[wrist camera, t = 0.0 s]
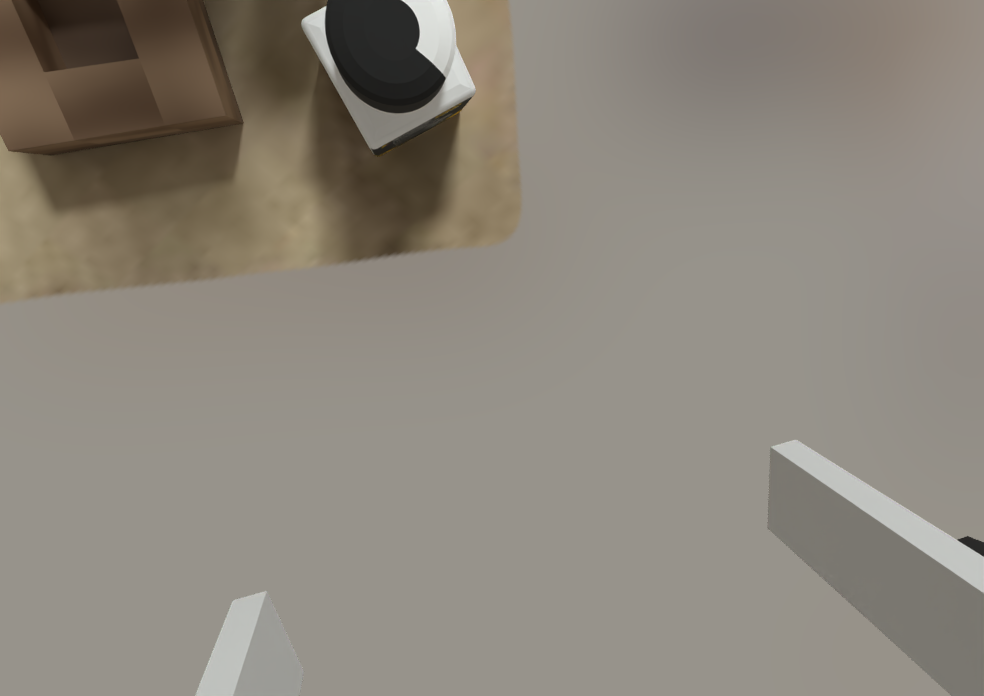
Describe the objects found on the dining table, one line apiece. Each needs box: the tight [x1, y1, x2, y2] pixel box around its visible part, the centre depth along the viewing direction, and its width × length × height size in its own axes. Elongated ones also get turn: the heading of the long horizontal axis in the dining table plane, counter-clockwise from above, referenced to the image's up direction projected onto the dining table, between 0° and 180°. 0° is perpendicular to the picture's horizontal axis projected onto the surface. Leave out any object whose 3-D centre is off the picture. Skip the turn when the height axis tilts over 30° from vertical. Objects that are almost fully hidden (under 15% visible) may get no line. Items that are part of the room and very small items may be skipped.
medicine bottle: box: [301, 0, 476, 157], centre depth 27 cm, size 7×7×12 cm
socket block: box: [0, 0, 243, 155], centre depth 27 cm, size 12×12×4 cm
